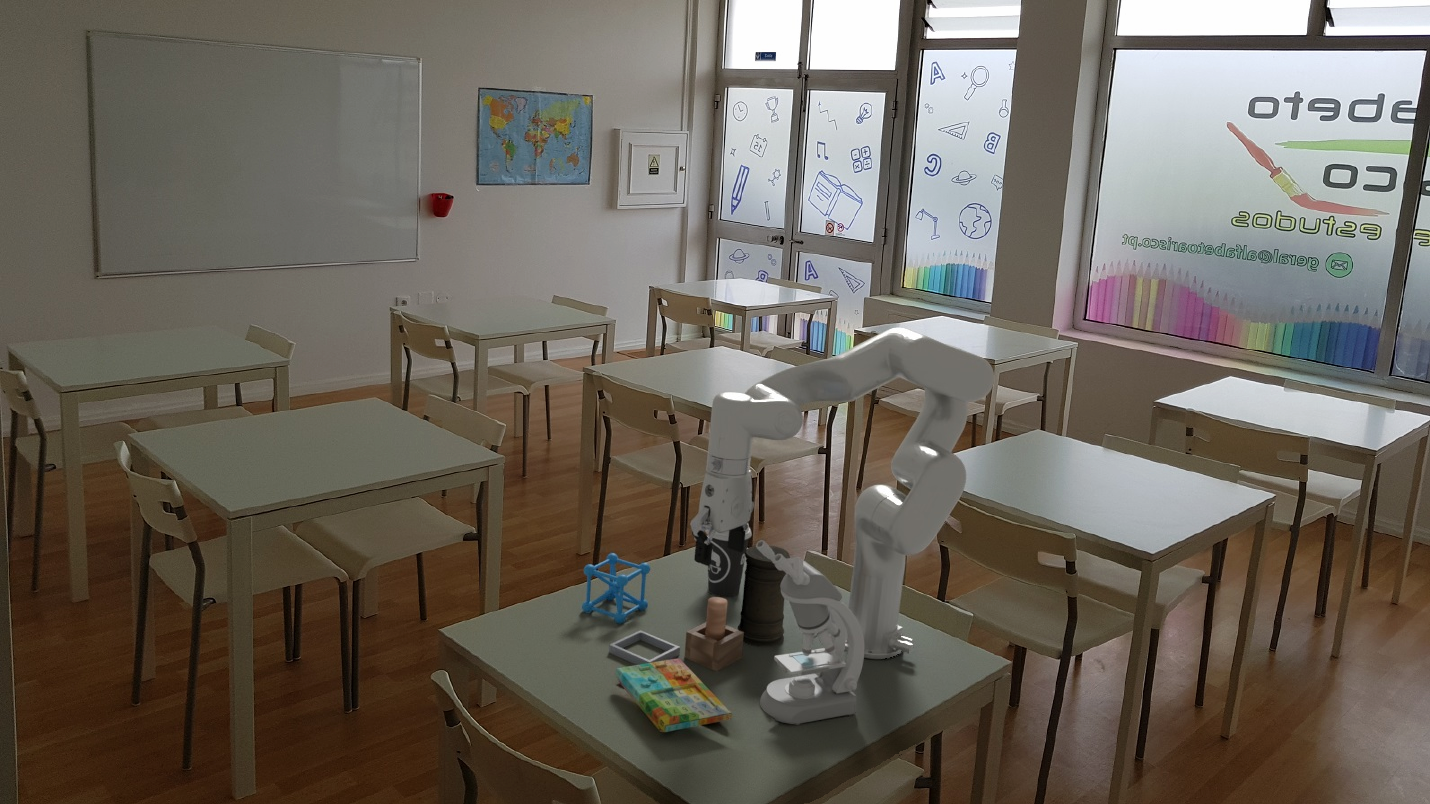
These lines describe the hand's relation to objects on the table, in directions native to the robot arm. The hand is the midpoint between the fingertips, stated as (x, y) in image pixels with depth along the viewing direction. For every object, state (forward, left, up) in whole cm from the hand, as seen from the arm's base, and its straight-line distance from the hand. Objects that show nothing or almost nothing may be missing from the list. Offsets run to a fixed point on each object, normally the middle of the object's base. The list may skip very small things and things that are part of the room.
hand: (719, 556), depth 200 cm
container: (-1, -14, -21) cm, 25 cm away
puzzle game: (-5, +18, -21) cm, 28 cm away
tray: (+9, +7, -21) cm, 24 cm away
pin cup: (0, 0, -21) cm, 21 cm away
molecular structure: (+27, -4, -21) cm, 34 cm away
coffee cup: (+18, -28, -21) cm, 39 cm away
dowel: (0, 0, -20) cm, 20 cm away
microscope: (-21, +2, -21) cm, 30 cm away
